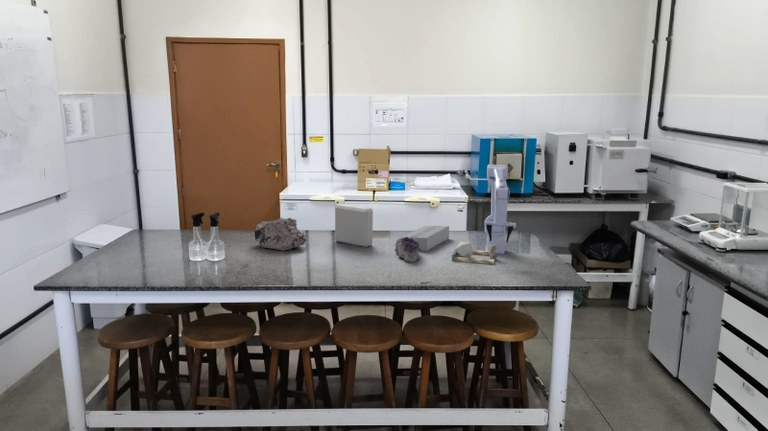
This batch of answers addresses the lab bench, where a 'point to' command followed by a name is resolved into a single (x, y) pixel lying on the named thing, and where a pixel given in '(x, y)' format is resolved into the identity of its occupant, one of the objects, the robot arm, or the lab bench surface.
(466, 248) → the die
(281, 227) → the mineral sample
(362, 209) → the grey thick block
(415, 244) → the geode
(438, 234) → the long grey block
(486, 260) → the tan frame
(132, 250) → the lab bench surface
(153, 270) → the lab bench surface
